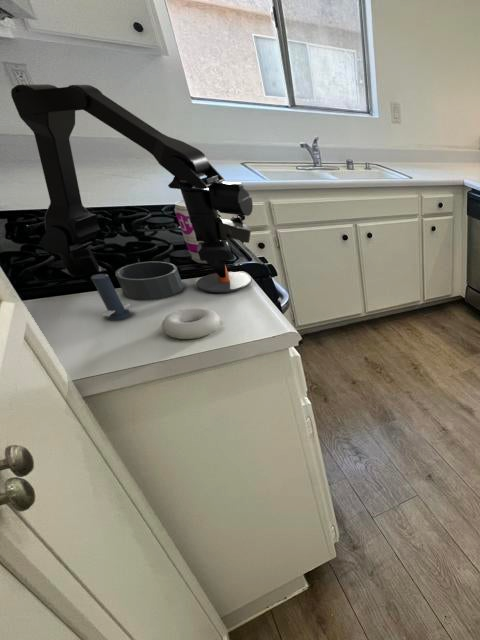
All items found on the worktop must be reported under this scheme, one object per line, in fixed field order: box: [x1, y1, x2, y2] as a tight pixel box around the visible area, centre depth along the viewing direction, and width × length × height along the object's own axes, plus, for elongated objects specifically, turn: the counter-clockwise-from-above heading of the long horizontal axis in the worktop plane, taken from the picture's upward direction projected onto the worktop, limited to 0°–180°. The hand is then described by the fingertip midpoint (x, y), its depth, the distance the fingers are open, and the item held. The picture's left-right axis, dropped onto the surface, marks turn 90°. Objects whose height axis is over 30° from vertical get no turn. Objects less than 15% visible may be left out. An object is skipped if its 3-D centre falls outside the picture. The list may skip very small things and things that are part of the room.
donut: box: [161, 307, 221, 340], centre depth 86 cm, size 10×3×10 cm
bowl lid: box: [196, 264, 253, 293], centre depth 103 cm, size 12×12×6 cm
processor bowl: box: [114, 260, 185, 301], centre depth 97 cm, size 11×11×5 cm
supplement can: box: [174, 199, 222, 265], centre depth 111 cm, size 8×8×15 cm
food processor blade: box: [90, 273, 131, 321], centre depth 85 cm, size 7×4×9 cm, turn 6°
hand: (222, 275), depth 103 cm, fingers closed on bowl lid, 2 cm apart
